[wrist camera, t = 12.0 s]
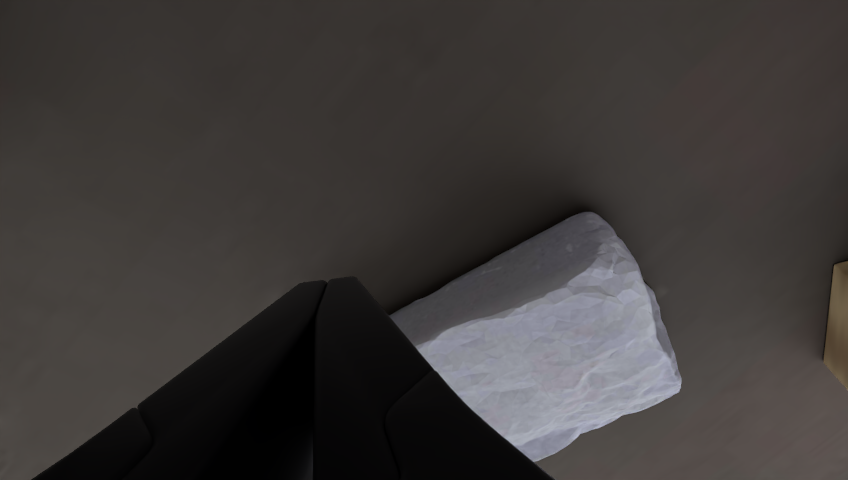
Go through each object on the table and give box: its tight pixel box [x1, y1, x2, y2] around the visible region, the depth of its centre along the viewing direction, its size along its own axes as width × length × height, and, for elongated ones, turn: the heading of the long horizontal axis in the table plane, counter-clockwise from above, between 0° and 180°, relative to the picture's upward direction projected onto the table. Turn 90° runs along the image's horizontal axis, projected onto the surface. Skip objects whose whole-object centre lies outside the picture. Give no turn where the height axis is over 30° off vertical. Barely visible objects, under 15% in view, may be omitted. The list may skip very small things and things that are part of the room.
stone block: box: [389, 212, 682, 462], centre depth 26 cm, size 12×5×10 cm
